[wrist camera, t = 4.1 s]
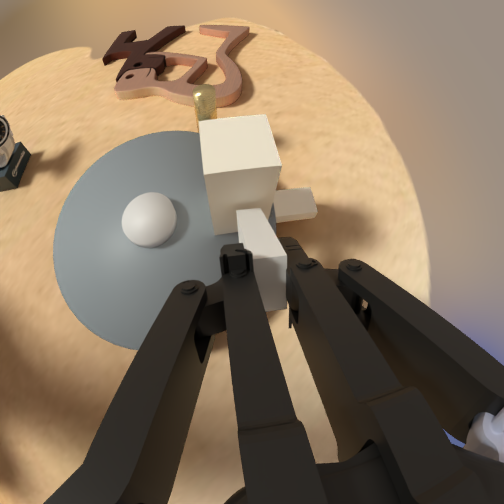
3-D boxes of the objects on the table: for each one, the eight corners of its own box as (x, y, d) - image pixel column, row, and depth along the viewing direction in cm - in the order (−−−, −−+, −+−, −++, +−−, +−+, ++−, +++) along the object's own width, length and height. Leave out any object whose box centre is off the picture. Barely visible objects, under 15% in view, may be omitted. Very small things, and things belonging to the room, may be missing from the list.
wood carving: (123, 39, 37) (58, 115, 29) (122, 32, 35) (53, 106, 27) (261, 37, 37) (235, 113, 29) (262, 28, 35) (235, 101, 27)
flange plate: (62, 355, 18) (-13, 351, 9) (72, 162, 24) (34, 107, 15) (339, 319, 20) (404, 300, 12) (283, 124, 26) (298, 53, 18)
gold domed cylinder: (199, 148, 27) (191, 97, 20) (200, 134, 27) (193, 85, 21) (218, 147, 27) (214, 96, 20) (218, 133, 27) (215, 83, 21)
